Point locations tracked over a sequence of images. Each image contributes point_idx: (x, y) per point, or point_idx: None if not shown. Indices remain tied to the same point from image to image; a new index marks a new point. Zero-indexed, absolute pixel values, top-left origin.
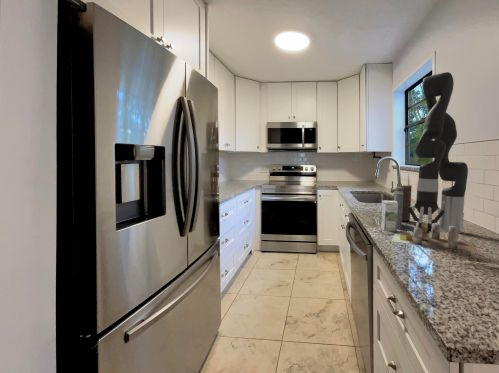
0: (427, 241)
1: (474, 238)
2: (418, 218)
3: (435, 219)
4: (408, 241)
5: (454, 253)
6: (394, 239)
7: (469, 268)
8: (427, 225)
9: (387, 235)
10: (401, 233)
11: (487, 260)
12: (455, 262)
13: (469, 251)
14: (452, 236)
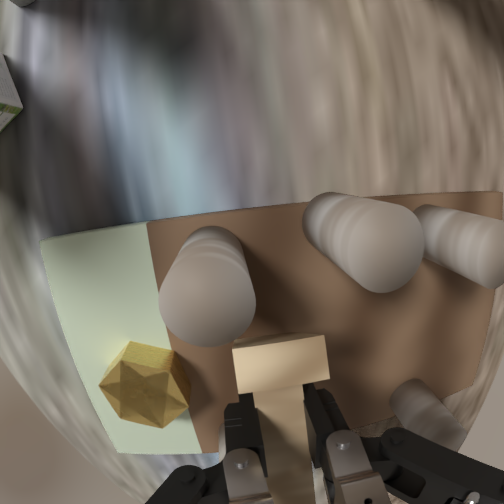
0: None
1: (471, 16)
2: (223, 497)
3: (393, 489)
4: (186, 422)
5: (398, 419)
6: (110, 419)
7: (397, 498)
8: (313, 501)
9: (15, 269)
10: (110, 389)
11: (470, 411)
12: None
13: (452, 393)
14: None
